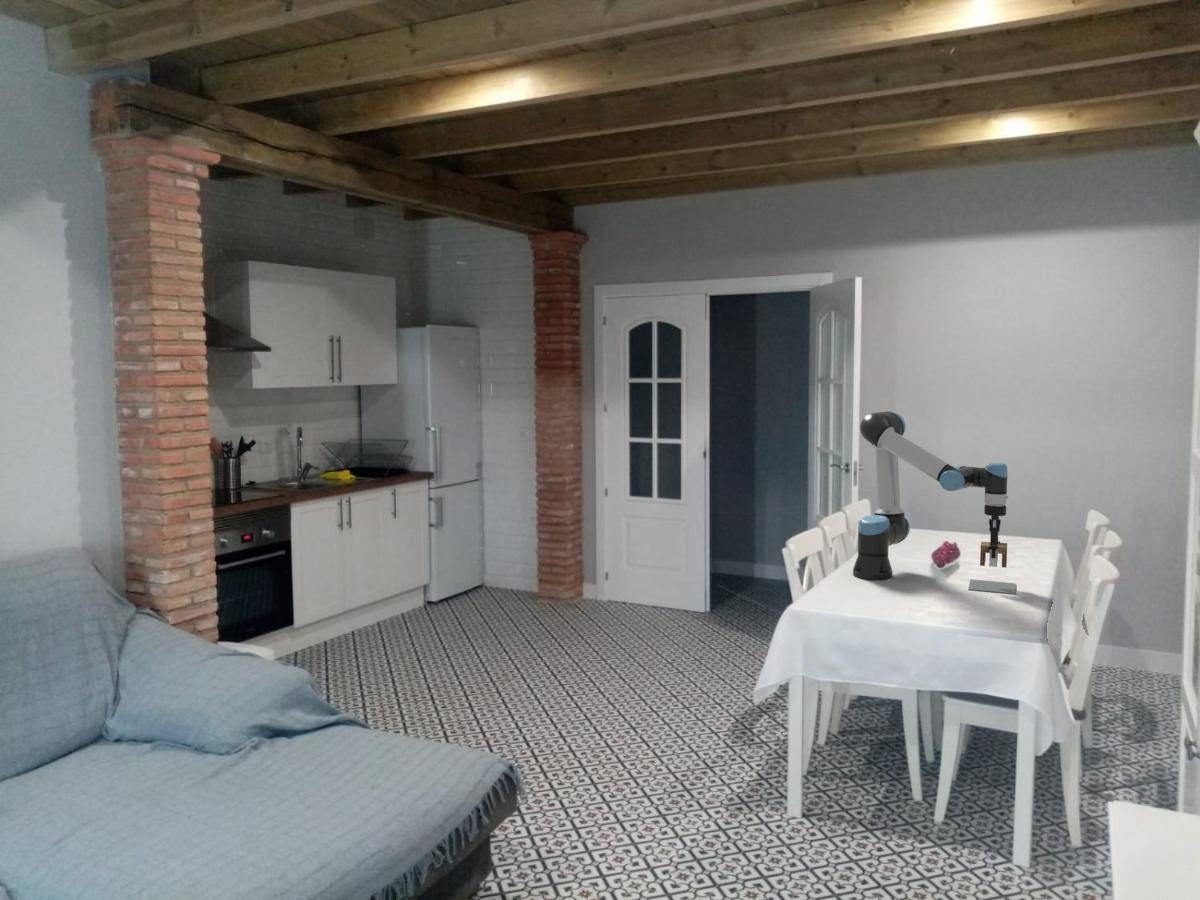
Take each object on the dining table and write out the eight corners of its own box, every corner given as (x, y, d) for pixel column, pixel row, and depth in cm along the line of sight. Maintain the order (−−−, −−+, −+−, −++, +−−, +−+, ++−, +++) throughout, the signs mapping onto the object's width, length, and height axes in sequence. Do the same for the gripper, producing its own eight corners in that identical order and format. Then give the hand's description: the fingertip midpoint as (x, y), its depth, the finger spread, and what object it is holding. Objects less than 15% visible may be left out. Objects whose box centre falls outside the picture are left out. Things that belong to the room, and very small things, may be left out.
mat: (968, 590, 341) (968, 588, 341) (970, 580, 356) (970, 579, 356) (1015, 594, 335) (1015, 593, 335) (1015, 584, 349) (1015, 583, 349)
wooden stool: (980, 565, 342) (980, 545, 341) (980, 560, 350) (981, 541, 349) (1006, 567, 338) (1007, 547, 338) (1006, 562, 346) (1007, 543, 346)
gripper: (1005, 509, 331) (1003, 570, 333) (1006, 500, 350) (1004, 558, 353) (983, 508, 334) (981, 569, 336) (985, 499, 353) (983, 557, 356)
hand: (993, 563), depth 344 cm, fingers closed on wooden stool, 9 cm apart
